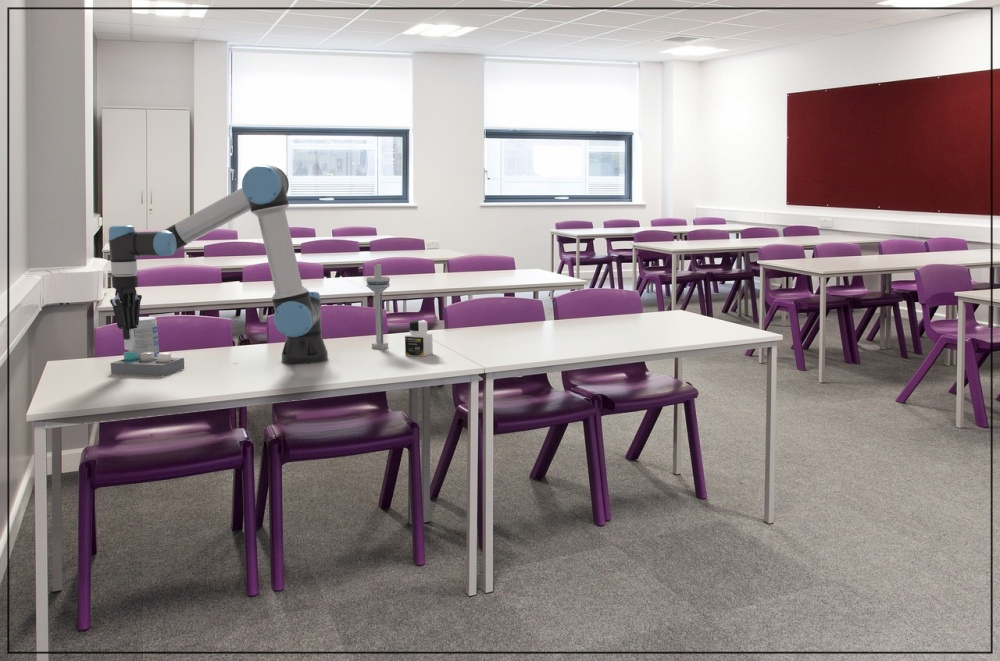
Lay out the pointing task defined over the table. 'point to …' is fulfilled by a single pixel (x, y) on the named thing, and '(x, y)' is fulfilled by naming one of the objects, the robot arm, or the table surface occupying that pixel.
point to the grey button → (147, 357)
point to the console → (147, 367)
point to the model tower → (378, 303)
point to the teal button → (130, 356)
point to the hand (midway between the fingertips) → (129, 349)
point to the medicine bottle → (418, 340)
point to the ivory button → (164, 357)
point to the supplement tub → (146, 336)
